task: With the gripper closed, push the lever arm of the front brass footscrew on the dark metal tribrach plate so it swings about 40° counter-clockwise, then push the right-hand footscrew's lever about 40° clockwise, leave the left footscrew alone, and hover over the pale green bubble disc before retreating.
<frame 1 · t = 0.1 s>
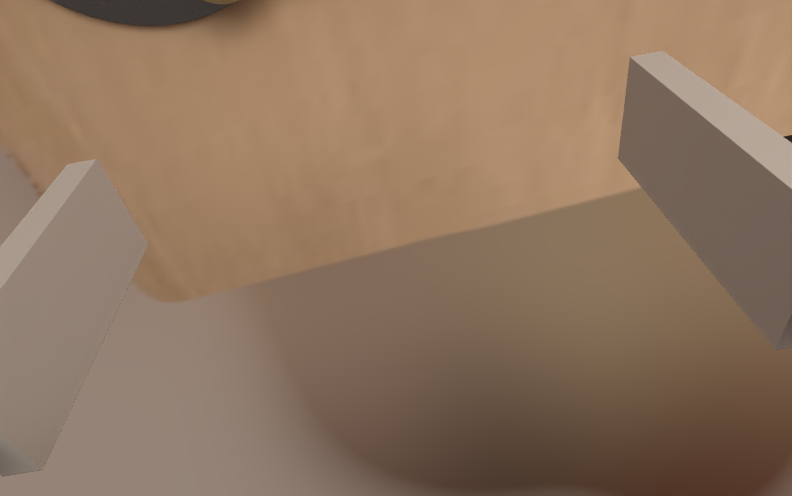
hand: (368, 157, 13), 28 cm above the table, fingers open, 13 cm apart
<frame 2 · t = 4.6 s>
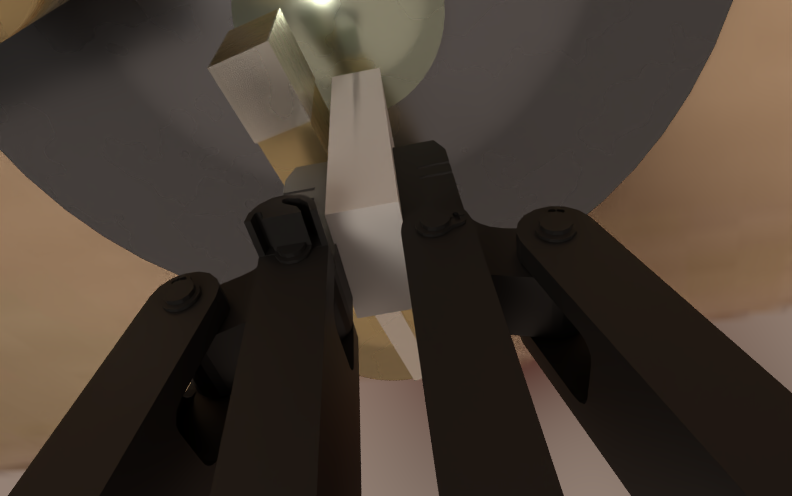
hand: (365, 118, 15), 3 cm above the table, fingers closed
tribrach plate: (340, 5, 16), on the table
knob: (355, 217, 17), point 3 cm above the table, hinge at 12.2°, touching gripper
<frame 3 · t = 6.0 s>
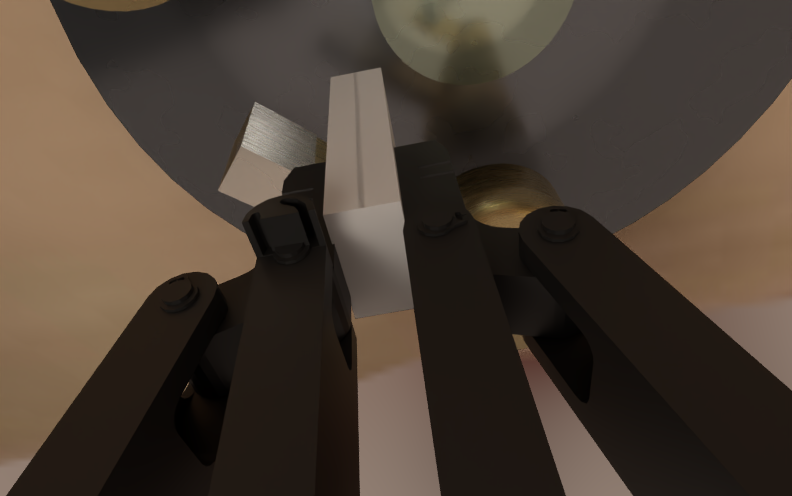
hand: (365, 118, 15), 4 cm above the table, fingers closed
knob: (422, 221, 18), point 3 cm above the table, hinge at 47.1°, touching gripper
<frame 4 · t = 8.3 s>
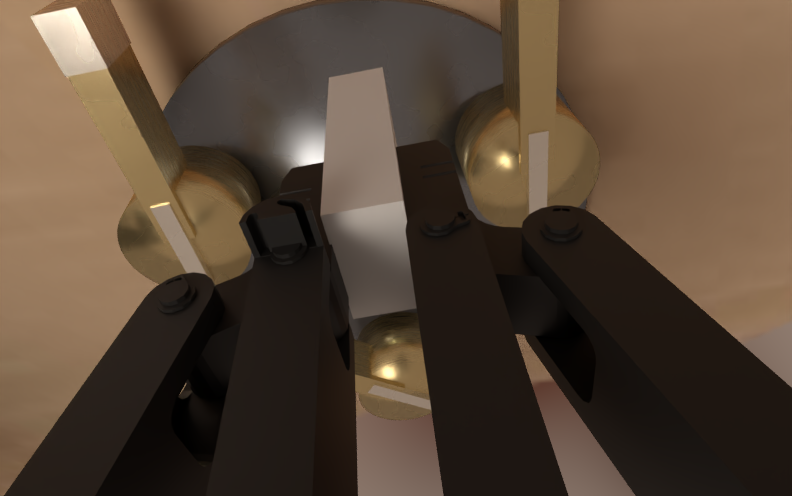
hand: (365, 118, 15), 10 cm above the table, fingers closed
tribrach plate: (371, 222, 30), on the table
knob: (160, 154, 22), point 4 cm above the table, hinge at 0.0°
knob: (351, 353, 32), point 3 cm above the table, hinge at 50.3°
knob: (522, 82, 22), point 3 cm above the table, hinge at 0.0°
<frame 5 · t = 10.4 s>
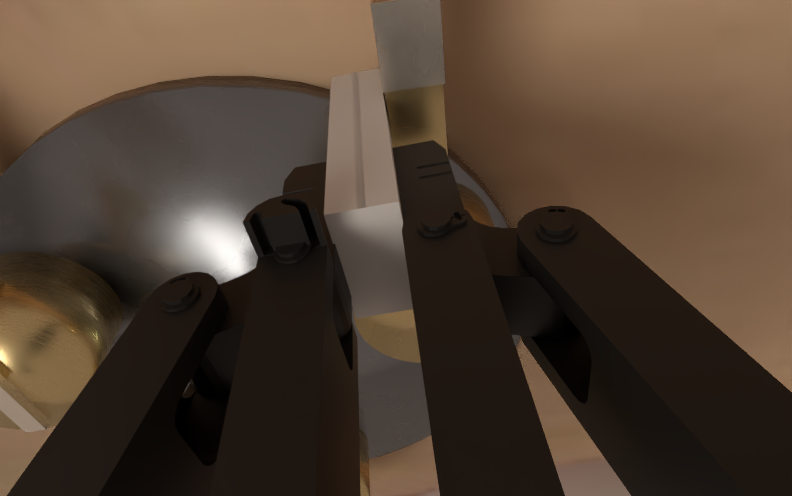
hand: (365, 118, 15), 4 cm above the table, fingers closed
tribrach plate: (271, 322, 25), on the table
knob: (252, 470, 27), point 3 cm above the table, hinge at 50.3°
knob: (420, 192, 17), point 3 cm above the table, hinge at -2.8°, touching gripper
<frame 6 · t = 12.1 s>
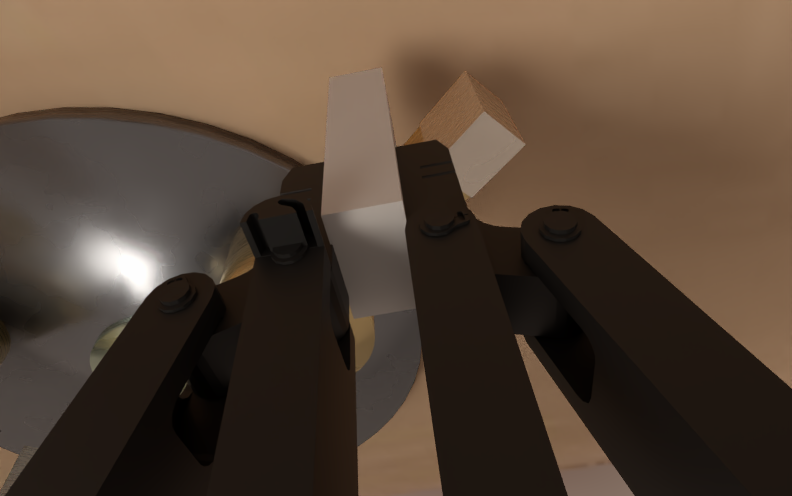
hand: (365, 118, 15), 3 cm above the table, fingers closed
tribrach plate: (170, 343, 25), on the table
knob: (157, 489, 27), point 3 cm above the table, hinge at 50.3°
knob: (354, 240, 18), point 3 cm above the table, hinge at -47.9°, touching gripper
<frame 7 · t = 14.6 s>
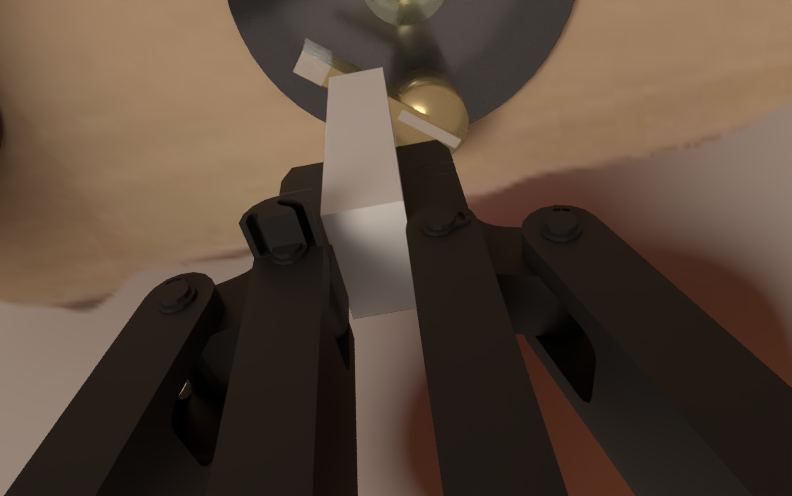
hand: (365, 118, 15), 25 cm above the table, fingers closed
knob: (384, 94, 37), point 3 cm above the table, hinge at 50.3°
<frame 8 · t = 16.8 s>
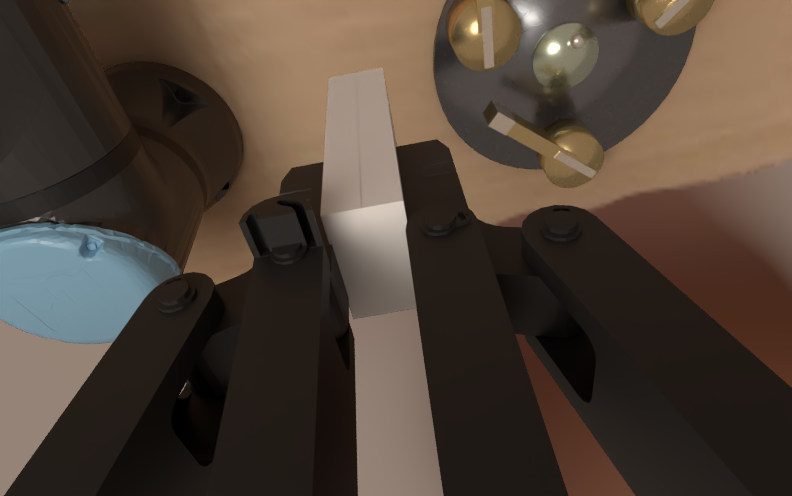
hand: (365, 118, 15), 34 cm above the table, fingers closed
tribrach plate: (560, 51, 49), on the table
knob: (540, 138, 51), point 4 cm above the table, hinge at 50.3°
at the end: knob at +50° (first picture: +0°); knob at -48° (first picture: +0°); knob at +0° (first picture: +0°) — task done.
